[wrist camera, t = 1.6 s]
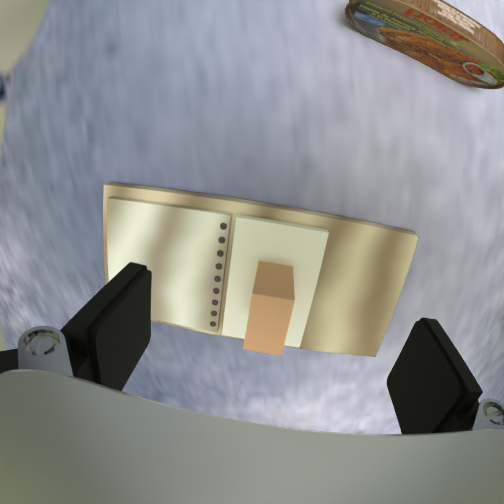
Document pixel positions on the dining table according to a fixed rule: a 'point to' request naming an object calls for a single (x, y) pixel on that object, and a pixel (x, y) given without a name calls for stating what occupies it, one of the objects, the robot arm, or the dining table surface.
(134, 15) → the dining table surface
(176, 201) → the ticket pad
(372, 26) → the tin
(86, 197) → the dining table surface
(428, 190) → the dining table surface
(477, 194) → the dining table surface
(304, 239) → the stub
